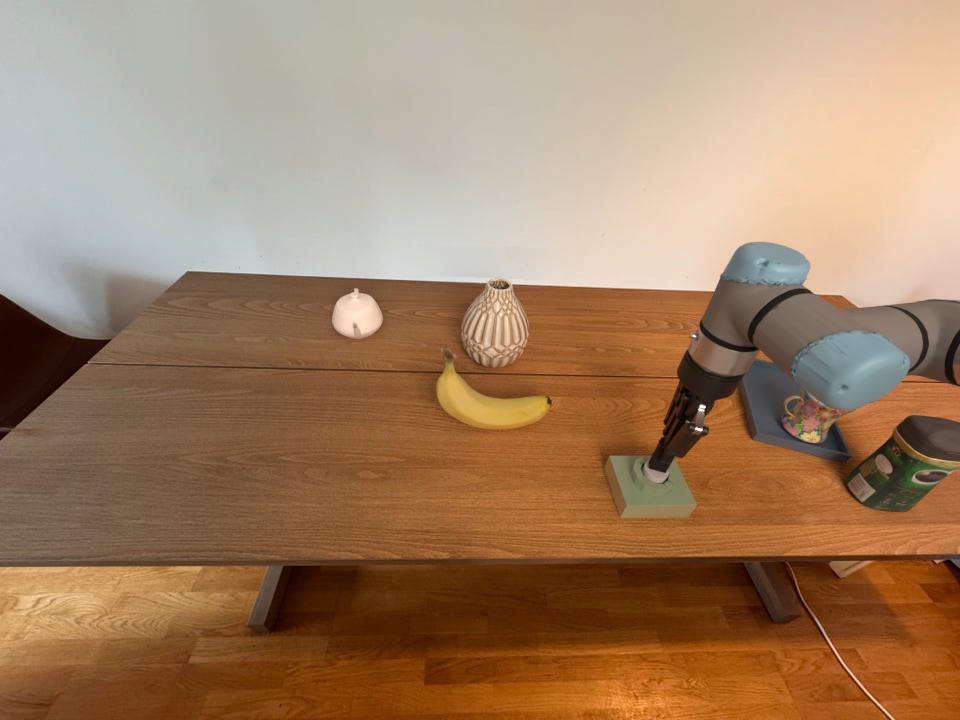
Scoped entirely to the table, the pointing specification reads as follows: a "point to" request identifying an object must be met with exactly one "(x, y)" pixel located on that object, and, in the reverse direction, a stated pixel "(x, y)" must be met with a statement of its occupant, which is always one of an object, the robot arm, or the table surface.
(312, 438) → the table surface
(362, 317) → the teapot
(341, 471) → the table surface
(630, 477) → the green button box
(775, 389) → the tray
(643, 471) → the button
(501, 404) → the banana
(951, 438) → the coffee jar
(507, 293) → the vase
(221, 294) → the table surface
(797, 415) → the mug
